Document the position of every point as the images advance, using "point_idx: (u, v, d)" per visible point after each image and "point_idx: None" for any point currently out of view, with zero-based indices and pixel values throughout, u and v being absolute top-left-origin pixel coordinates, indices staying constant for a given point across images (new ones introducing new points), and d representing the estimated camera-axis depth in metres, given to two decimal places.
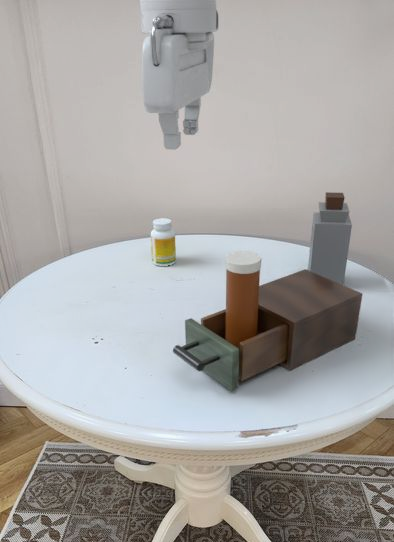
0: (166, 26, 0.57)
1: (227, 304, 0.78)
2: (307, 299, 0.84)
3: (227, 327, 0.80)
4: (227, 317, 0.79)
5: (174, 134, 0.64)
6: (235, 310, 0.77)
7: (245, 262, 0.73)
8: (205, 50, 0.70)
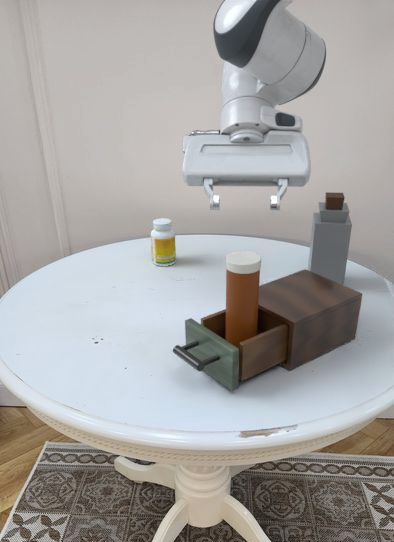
0: (207, 134, 0.86)
1: (227, 304, 0.78)
2: (307, 299, 0.84)
3: (227, 327, 0.80)
4: (227, 317, 0.79)
5: (209, 196, 0.84)
6: (235, 310, 0.77)
7: (245, 262, 0.73)
8: (290, 145, 0.83)
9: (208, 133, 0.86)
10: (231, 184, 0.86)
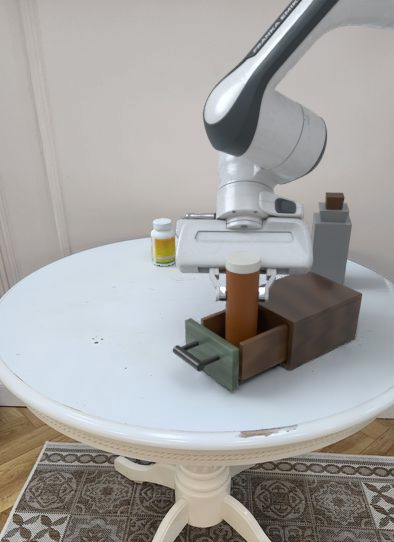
0: (202, 218, 0.81)
1: (227, 304, 0.78)
2: (307, 299, 0.84)
3: (227, 327, 0.80)
4: (227, 317, 0.79)
5: (215, 287, 0.78)
6: (235, 310, 0.77)
7: (244, 262, 0.73)
8: (291, 233, 0.78)
9: (203, 217, 0.81)
10: None
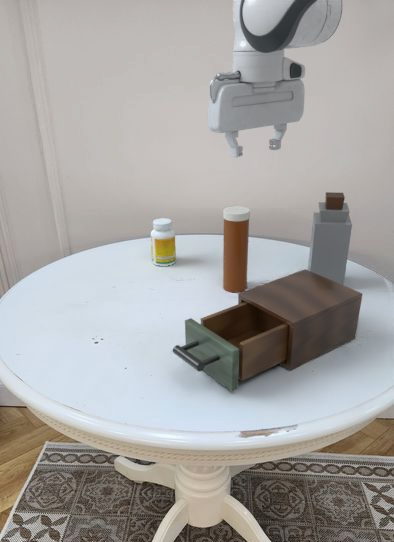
0: (230, 78, 0.90)
1: (224, 246, 1.03)
2: (307, 299, 0.84)
3: (224, 265, 1.05)
4: (224, 257, 1.04)
5: (234, 147, 0.96)
6: (230, 250, 1.02)
7: (237, 213, 0.98)
8: (292, 91, 0.97)
9: (231, 77, 0.90)
10: None
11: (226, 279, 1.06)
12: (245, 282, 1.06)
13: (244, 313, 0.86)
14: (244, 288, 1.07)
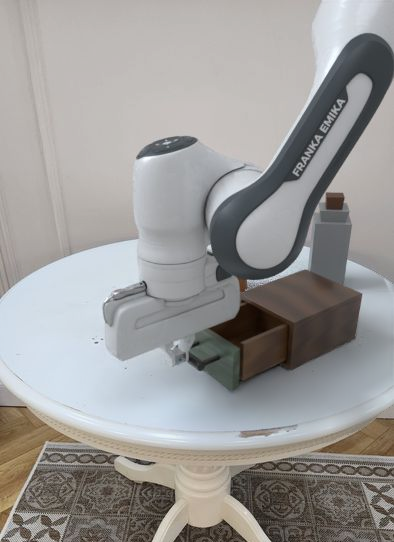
0: (131, 294, 0.65)
1: None
2: (307, 299, 0.84)
3: None
4: None
5: (170, 357, 0.74)
6: None
7: None
8: (222, 289, 0.73)
9: (133, 293, 0.65)
10: None
11: None
12: (245, 282, 1.06)
13: (244, 313, 0.86)
14: (244, 288, 1.07)
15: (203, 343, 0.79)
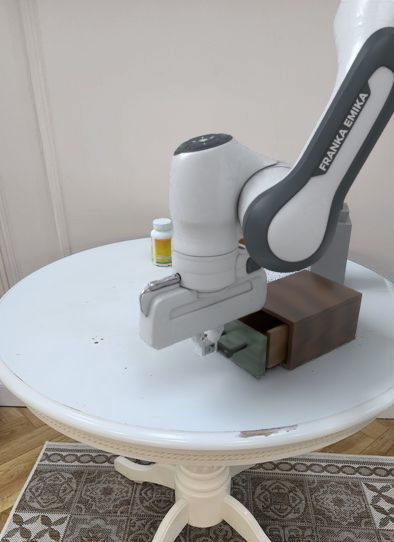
0: (166, 285, 0.68)
1: None
2: (307, 299, 0.84)
3: None
4: None
5: (200, 347, 0.76)
6: None
7: None
8: (251, 281, 0.75)
9: (168, 284, 0.68)
10: None
11: None
12: None
13: None
14: None
15: (230, 332, 0.82)
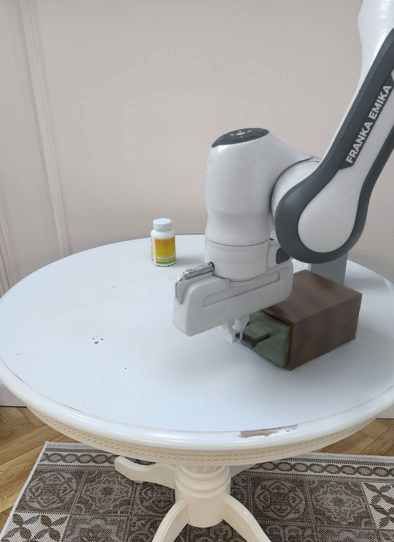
0: (201, 273, 0.71)
1: None
2: (307, 299, 0.84)
3: None
4: None
5: (230, 334, 0.79)
6: None
7: None
8: (278, 272, 0.78)
9: (203, 272, 0.71)
10: None
11: None
12: None
13: None
14: None
15: (253, 323, 0.84)
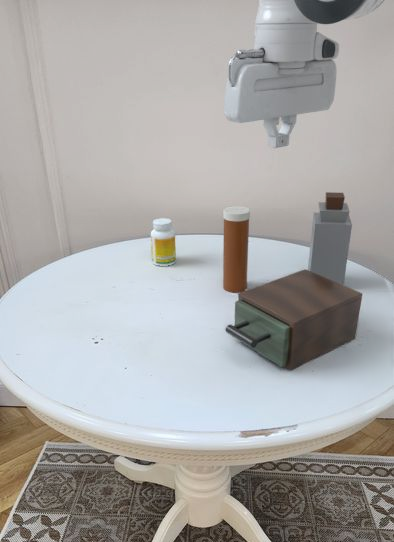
0: (252, 56, 0.75)
1: (224, 246, 1.03)
2: (307, 299, 0.84)
3: (224, 265, 1.05)
4: (224, 257, 1.04)
5: (274, 136, 0.83)
6: (230, 250, 1.02)
7: (237, 213, 0.98)
8: (322, 74, 0.82)
9: (254, 55, 0.75)
10: None
11: (226, 279, 1.06)
12: (245, 282, 1.06)
13: None
14: (244, 288, 1.07)
15: (253, 323, 0.84)
